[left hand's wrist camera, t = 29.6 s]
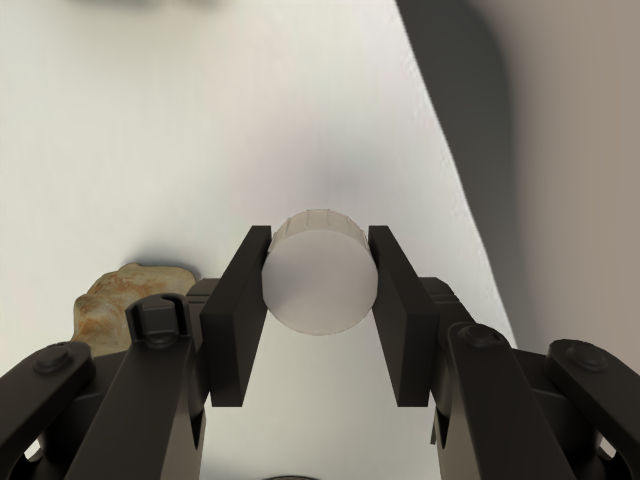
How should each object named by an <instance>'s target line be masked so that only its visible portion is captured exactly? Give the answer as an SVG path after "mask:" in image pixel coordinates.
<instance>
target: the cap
mask: <svg viewBox="0 0 640 480" xmlns="http://www.w3.org/2000/svg"><path fill="white" fill-rule="evenodd" d="M377 284H378V272H377V268H376V265H375V262H374V259H373V257H372V254H371V251H370V248H369V245H368V242H367V240H366V237H365V234H364V231H363V230H361V229H360V228H359V227H358V226H357V225H356V224H355V223H354V222H353V221H352V220H351V219H349V217H348V216H347V217H346V216H344V215H342V214H340V213H337V212H334V211H330V210H329V209H328V210H310V211H309V210H307V211H305V212H302V213H300V214H297V215H295V216H293V217H292V218H288V220H287V221H286V222H285V223H284V224H283V225H282V226H281V227H280V229H279V230H278V231H277V233H276V232H275V233H274V236H273V239H272V241H271V244H270V246H269V249H268V254H267V257H266V260H265V262H264V265H263V268H262V287H263V299H264V301H265V303H266V306H267V307H268V309H269V310H270V312H271V313H272V314H273V315H274V316H275V318H276V319H278V320H279V321H280V322H281V323H283V324H284V325H285V326H287V327H289V328H291V329H293V330H295V331H298V332H301V333H305V334H310V335H330V334H335V333H338V332H342V331H344V330H346V329H349V328H350V327H352V326H354V325H355V324H357V323H358V322H359V321H361V320H362V319H363V318H364V317H365V316H366V315H367V313H368V312H369V311H370V309H371V308H372V306H373V304H374V302H375V299H376V297H377Z"/></svg>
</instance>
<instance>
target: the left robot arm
mask: <svg viewBox="0 0 640 480" xmlns="http://www.w3.org/2000/svg"><path fill="white" fill-rule="evenodd" d="M271 241H272V237H271V226H252V227H251V229H250V230H249V232H248V234H247V235H246V237H245V239H244V240H243V242H242V244H241V245H240V247H239V249H238V250H237V252H236V254H235V255H234V257H233V259H232V260H231V262H230V264H229V265H228V267H227V269H226V270H225V272H224V274H223V275H222V277H221V278H212V279H202V280H201V281H199V282H198V283H196V284H194V285H193V286H192V287H191V288H190V289H189V291H188V292H187V294H186V296H184V295H182V294H177V293H160V294H154V295H150V296H147V297H144V298H141V299H139V300H137V301H135V302H134V303H132V304H130V305H129V306H128V307H127V308H126V309H125V315H126V319H127V324H128V328H129V332H130V337H131V341H132V343H131V345H130V347H129V349H128V350H125V351H121V352H116V353H111V354H106V355H101V356H96V357H93V353H92V350H91V347H90V346H89V345H88V344H87V343H86V342H81V341H68V342H60V343H57V344H56V343H55V344H52V345H49V346H47V347H45V348H43V349H41V350H38V351H36V352H34V353H33V354H31V355H30V356H28V357H27V358H25V359H24V360H22V361H21V362H20V363H19V364H17V365H16V366H15V367H13V368H12V369H11V370H10V371H8V372H7V373H6V374H5V375H3V376H2V377H1V378H0V480H199V473H200V466H201V458H202V450H203V442H204V434H205V426H206V416H205V409H204V404H205V401H206V399H207V396H208V394H209V391H210V395H211V402H212V407H242V405H243V401H244V397H245V393H246V390H247V386H248V382H249V378H250V374H251V371H252V367H253V363H254V359H255V356H256V352H257V348H258V344H259V340H260V337H261V333H262V329H263V325H264V322H265V318H266V314H267V310H268V307H267V306H266V303H265V301H264V299H263V287H262V268H263V265H264V262H265V260H266V257H267V254H268V249H269V246H270V244H271ZM368 245H369V248H370V251H371V254H372V257H373V259H374V262H375V265H376V268H377V272H378V284H377V297H376V299H375V302H374V304H373V306H372V311H373V315H374V319H375V322H376V326H377V330H378V334H379V337H380V341H381V345H382V349H383V353H384V356H385V360H386V364H387V368H388V371H389V375H390V379H391V383H392V387H393V390H394V394H395V398H396V402H397V405H398V407H428V401H429V394H430V390H431V393H432V395H433V398H434V400H435V403H436V409H435V416H434V422H433V429H432V436H431V443H430V444H433V445H435V443H436V441H437V449H438V457H439V465H440V473H441V480H640V376H639V375H638V374H637V373H635V372H634V371H633V370H632V369H630V368H629V367H628V366H627V365H625V364H624V363H623V362H621V361H620V360H619V359H618V358H616V357H615V356H613V355H612V354H610V353H609V352H607V351H605V350H603V349H601V348H599V347H596V346H594V345H593V344H590V343H587V342H583V341H579V340H569V339H562V340H556V341H554V342H553V343H551V344H550V345H549V349H548V352H547V355H542V354H537V353H532V352H527V351H521V350H517V349H514V348H511V346H510V344H509V342H508V341H507V339H506V338H505V337H504V336H503V335H502V334H501V333H499V332H498V331H496V330H495V329H493V328H490V327H488V326H486V325H483V324H478V323H476V322H475V321H474V319H473V318H472V317H471V315H470V314H469V313H468V311H467V310H466V308H465V307H464V306H463V304H462V303H461V302H460V300H459V299H458V298H457V296H456V295H454V292H453V291H452V290H451V288H450V287H449V286H448V285H447V284H446V283H444V282H443V281H441V280H439V279H438V278H436V277H418V276H417V274H416V272H415V271H414V269H413V267H412V266H411V264H410V262H409V261H408V259H407V257H406V256H405V254H404V252H403V251H402V249H401V247H400V246H399V244H398V242H397V241H396V239H395V237H394V236H393V234H392V232H391V231H390V229H389V227H388V226H369V233H368ZM603 437H604V438H605V439H606V440H607V441H608V442H609V443H610V444H611V445H612V446H613V447H614V449H615V450H616V453H615V456H614V457H613V458H611V457H610V456H609V455H608V454H607V453H606V452H605V451H604V450H603V449H602V448H601V447H600V444H601V441H602V438H603ZM36 439H38V442H39V444H40V448H39V450H38V451H37V452H36V453H35V454H34V455H33V456H32V457H30V458H29V459H27V458H26V457H25V454H24V452H25V451H26V450H27V449H28V448H29V447H30V446H31V444H32V443H33V442H34V441H35V440H36ZM272 480H311V479H305V478H295V477H288V478H277V479H272Z"/></svg>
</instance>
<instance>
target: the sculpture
mask: <svg viewBox="0 0 640 480" xmlns="http://www.w3.org/2000/svg"><path fill="white" fill-rule="evenodd" d="M194 284H196V282H195V278H194V276H193V274H191V273H190V272H189V271H187V270H185V269H183V268H178V267H166V266H150V267H140V265H139V264H137V263H130V264H126V265H125V266H123V267H121V268H120V269H119V270H118V271H114V272H110V273H106V274H104V275H102V277H100V278H99V279H98V280H97V281H96V282H95V283H94V284H93V286H92V287H91V288H90V289H89V290H88V292H87V294H84V295H82V296H80V297H78V298H77V299H76V301H75V303H74V335H73V337H72V339H71V340H70V341H81V342H86V343H87V344H88V345H89V346H90V347H91V350H92V353H93V357H96V356H101V355H106V354H111V353H116V352H121V351H125V350H128V349H129V347H130V345H131V343H132V341H131V337H130V332H129V328H128V324H127V319H126V315H125V309H126V308H127V307H128V306H129V305H130V304H132V303H134V302H135V301H137V300H139V299H141V298H144V297H147V296H150V295H154V294H160V293H177V294H182V295H184V296H186V294H187V292H188V291H189V289H190V288H191V287H192V286H193V285H194Z"/></svg>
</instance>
